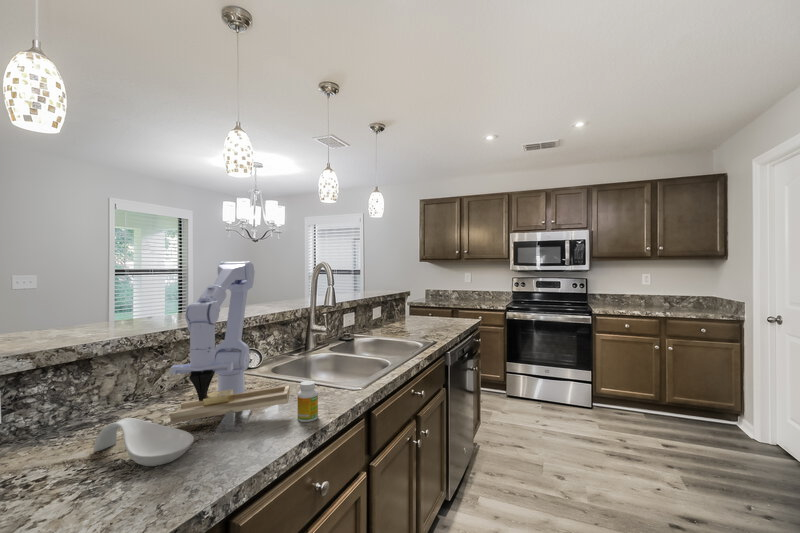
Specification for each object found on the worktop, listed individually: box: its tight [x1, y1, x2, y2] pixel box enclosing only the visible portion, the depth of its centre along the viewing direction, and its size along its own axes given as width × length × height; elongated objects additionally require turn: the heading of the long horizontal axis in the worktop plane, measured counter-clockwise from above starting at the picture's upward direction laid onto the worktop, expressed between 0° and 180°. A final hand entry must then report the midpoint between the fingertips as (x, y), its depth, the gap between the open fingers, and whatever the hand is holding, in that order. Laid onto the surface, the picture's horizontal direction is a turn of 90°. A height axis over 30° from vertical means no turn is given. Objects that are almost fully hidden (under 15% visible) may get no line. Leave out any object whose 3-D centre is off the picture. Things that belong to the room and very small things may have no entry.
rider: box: [203, 389, 234, 407], centre depth 96 cm, size 5×6×3 cm
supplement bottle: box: [297, 380, 319, 423], centre depth 99 cm, size 5×5×10 cm
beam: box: [169, 384, 291, 424], centre depth 97 cm, size 8×28×3 cm, turn 102°
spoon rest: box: [93, 417, 195, 467], centre depth 80 cm, size 24×12×7 cm, turn 73°
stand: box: [215, 409, 252, 434], centre depth 97 cm, size 12×6×5 cm, turn 12°
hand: (202, 399), depth 95 cm, fingers closed
